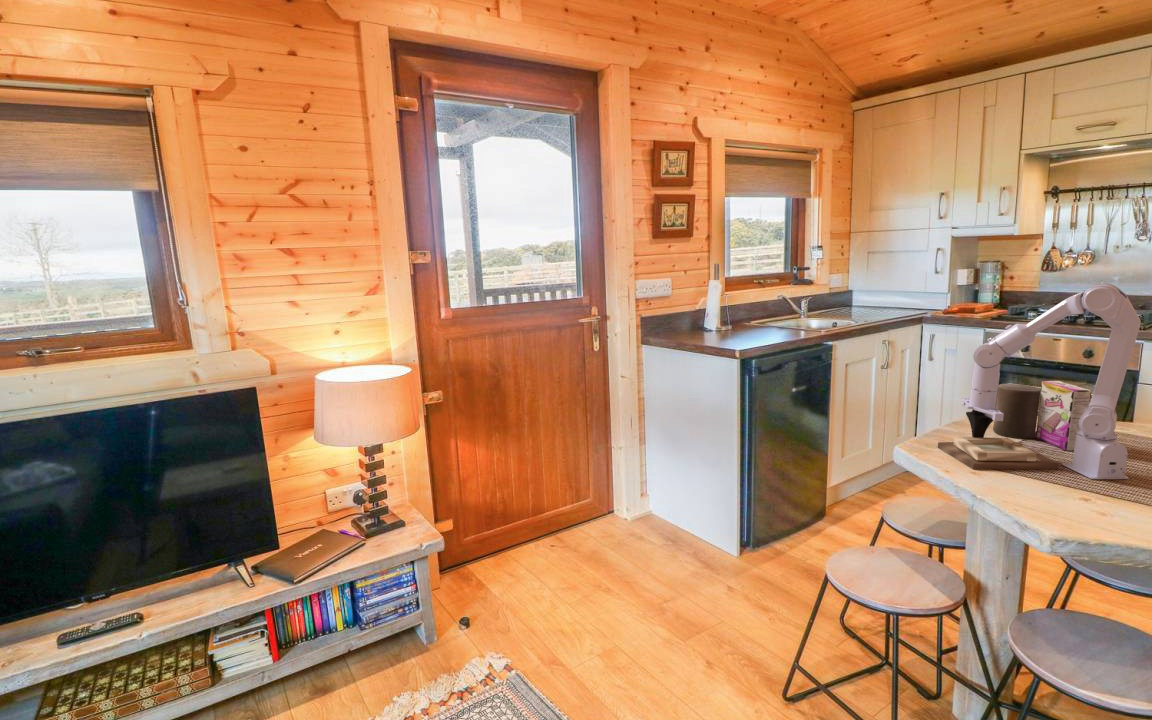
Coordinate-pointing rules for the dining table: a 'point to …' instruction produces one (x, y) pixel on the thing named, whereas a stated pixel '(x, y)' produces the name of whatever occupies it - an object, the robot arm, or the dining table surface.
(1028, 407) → the pillar candle
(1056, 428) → the candy bar box
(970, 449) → the cabinet door with knob
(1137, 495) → the dining table surface
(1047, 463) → the walnut board
